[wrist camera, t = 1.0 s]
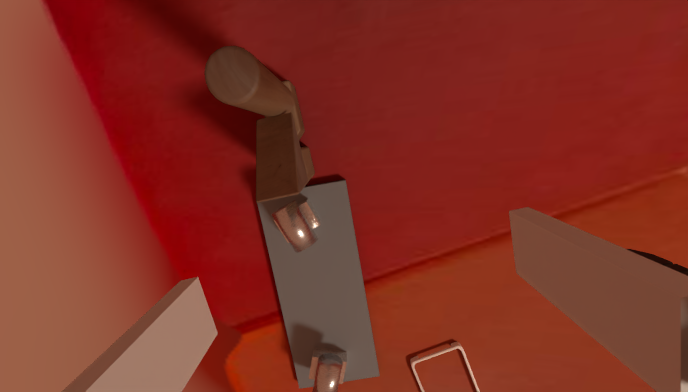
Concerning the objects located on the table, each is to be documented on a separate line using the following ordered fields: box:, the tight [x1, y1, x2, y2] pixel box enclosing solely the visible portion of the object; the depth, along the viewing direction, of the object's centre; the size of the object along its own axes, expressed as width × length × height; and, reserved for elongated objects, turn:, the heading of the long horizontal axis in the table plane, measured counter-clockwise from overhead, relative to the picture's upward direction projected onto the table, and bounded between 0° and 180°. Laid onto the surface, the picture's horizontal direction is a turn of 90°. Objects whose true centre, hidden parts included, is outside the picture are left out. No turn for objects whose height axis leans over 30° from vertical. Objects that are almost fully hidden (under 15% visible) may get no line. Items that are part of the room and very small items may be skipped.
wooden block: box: [205, 46, 315, 203], centre depth 29 cm, size 4×11×18 cm, turn 12°
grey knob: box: [309, 347, 347, 392], centre depth 40 cm, size 5×4×5 cm
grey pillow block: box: [271, 199, 321, 253], centre depth 36 cm, size 5×4×5 cm
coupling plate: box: [257, 180, 380, 388], centre depth 41 cm, size 27×11×1 cm, turn 10°
